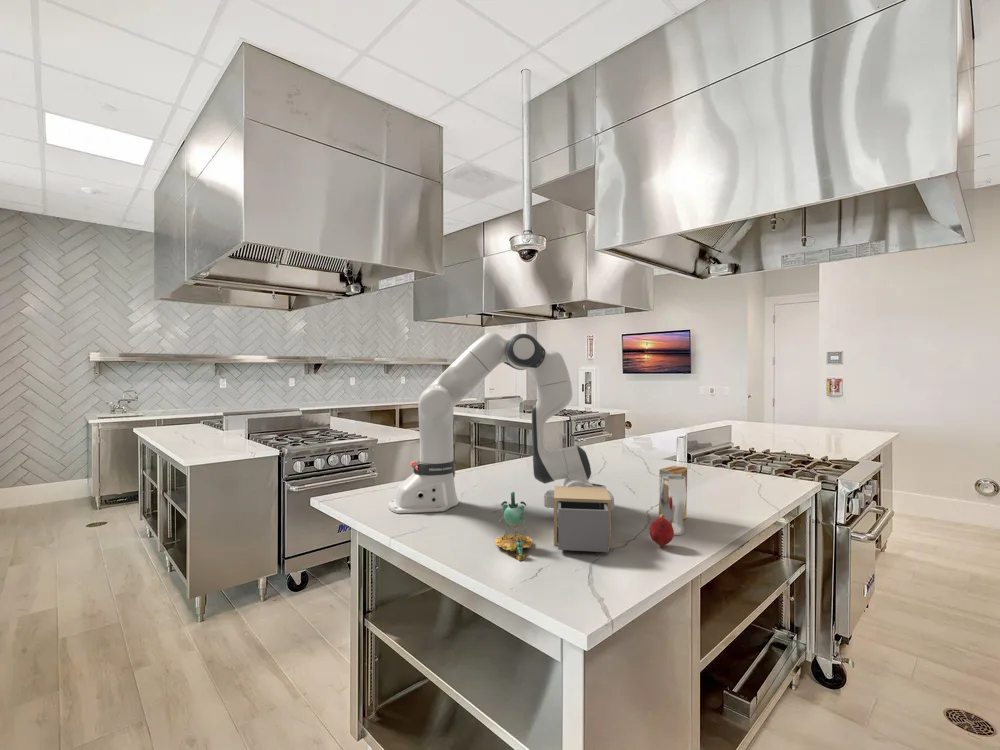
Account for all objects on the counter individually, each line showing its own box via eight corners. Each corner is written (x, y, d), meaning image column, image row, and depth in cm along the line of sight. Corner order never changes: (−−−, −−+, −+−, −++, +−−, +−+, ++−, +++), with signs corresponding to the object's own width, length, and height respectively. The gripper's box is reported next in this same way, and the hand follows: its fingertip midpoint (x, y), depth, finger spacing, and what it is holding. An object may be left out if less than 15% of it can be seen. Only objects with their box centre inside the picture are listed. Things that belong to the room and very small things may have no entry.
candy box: (674, 515, 143) (674, 464, 143) (687, 518, 139) (687, 467, 139) (658, 521, 137) (658, 468, 137) (671, 524, 134) (671, 471, 134)
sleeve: (554, 529, 130) (554, 486, 130) (605, 531, 128) (606, 487, 128) (553, 545, 118) (554, 497, 118) (610, 548, 117) (610, 499, 116)
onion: (670, 552, 113) (670, 519, 113) (646, 548, 117) (646, 515, 116) (675, 545, 118) (676, 513, 118) (652, 540, 121) (652, 509, 121)
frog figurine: (489, 561, 109) (489, 496, 110) (497, 541, 127) (497, 485, 128) (531, 562, 108) (530, 496, 109) (533, 542, 126) (532, 486, 127)
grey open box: (558, 522, 132) (558, 488, 132) (601, 524, 131) (601, 489, 131) (558, 549, 113) (558, 509, 112) (608, 552, 111) (608, 510, 111)
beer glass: (689, 531, 129) (690, 476, 128) (679, 537, 123) (679, 481, 123) (665, 525, 133) (665, 472, 133) (654, 531, 128) (654, 476, 128)
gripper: (544, 483, 147) (542, 495, 133) (610, 485, 144) (616, 498, 130) (544, 503, 147) (542, 517, 133) (610, 506, 144) (616, 520, 130)
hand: (579, 507), depth 132 cm, fingers closed, pressing on grey open box
